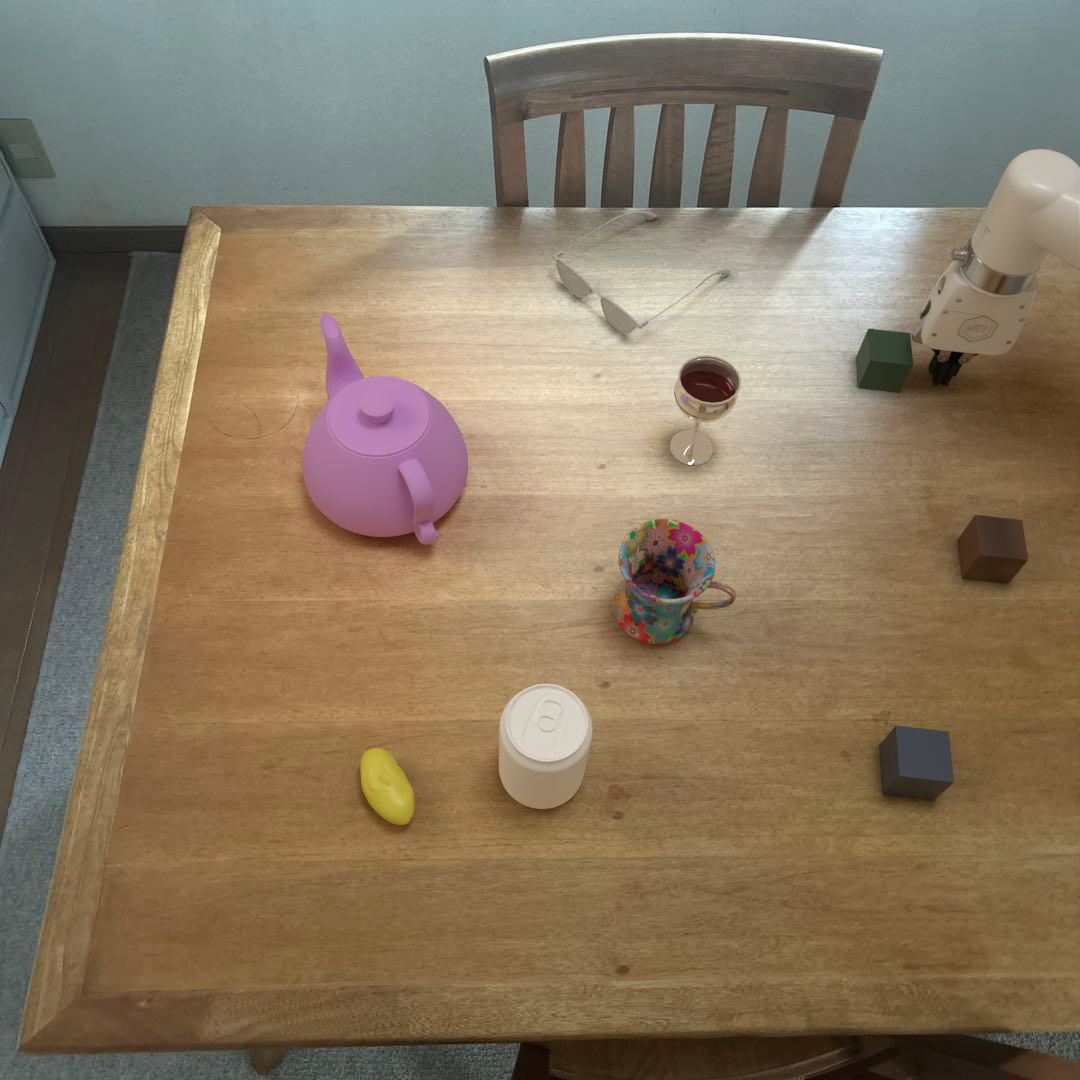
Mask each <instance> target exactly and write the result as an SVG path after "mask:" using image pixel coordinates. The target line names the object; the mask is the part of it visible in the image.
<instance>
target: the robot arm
mask: <svg viewBox="0 0 1080 1080" xmlns="http://www.w3.org/2000/svg"><path fill="white" fill-rule="evenodd" d="M1049 254H1051V255H1053V256H1054V257H1056V258H1058V259H1059V260H1061V261H1063V262H1065V263H1066V264H1067V265H1069V266H1071V267H1073V268H1074V269H1076V270H1077V271H1080V166H1079V164H1078V163H1077V162H1076V161H1074V160H1073V159H1072V158H1070V157H1069V156H1067V155H1066V154H1064V153H1061V152H1059V151H1055V150H1053V149H1046V148H1045V149H1043V148H1038V149H1035V148H1034V149H1029V150H1027V151H1026V150H1025V151H1024V152H1022V153H1019V154H1017V156H1015V157H1014V158H1013V159H1012V160H1011V161H1010V162H1009V164H1008V165H1007V166H1006V169H1005V170H1004V172H1003V173H1002V176H1001V178H1000V180H999V182H998V184H997V185H996V188H995V190H994V192H993V195H992V196H991V197H990V200H989V203H988V205H987V206H986V208H985V210H984V212H983V214H982V216H981V219H980V220H979V222H978V223H977V227H976V228H975V230H974V232H973V235H972V237H971V238H968V241H967V242H966V245H965V246H963V247H959V248H955V247H954V248H952V250H951V252H950V255H949V256H950V257H949V259H950V261H951V263H950V264H949V265H948V267H947V268H946V269H945V270H944V272H943V273H942V274H941V275H940V277H939V278H938V279H937V281H936V283H935V285H934V286H933V288H932V290H931V291H930V293H929V294H928V297H927V298H926V300H925V301H924V303H923V305H922V308H921V310H920V312H919V321H918V323H916V325H915V326H914V327H913V329H912V330H911V341H912V342H914V343H917V344H919V345H923V346H925V347H927V348H928V349H929V348H930V349H931V350H932V352H933V353H934V354H933V355H932V358H931V360H930V361H929V364H928V374H929V375H931V377H932V378H931V379H932V385H934V386H940V385H942V386H943V387H948V386H949V384H950V383H951V382H952V379H953V377H956V376H957V375H958V373H959V371H960V370H961V368H962V366H963V365H966V364H969V363H970V361H971V360H972V359H973V358H974V357H976V356H980V355H987V356H1000V355H1005V354H1007V353H1009V351H1010V350H1011V349H1012V348H1013V347H1014V346H1015V343H1016V342H1017V340H1018V338H1019V336H1020V334H1021V332H1022V330H1023V328H1024V326H1025V323H1026V322H1027V319H1028V317H1029V313H1030V312H1031V309H1032V307H1033V303H1034V301H1035V298H1036V295H1037V291H1038V287H1039V281H1038V278H1037V274H1038V273H1039V271H1040V269H1041V267H1042V266H1043V264H1044V262H1045V261H1046V259H1047V257H1048V255H1049Z"/></svg>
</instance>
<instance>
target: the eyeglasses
mask: <svg viewBox="0 0 1080 1080" xmlns="http://www.w3.org/2000/svg"><path fill="white" fill-rule="evenodd" d="M630 215H642V216H644V217H645V219H646V220H648V221H653V220H655V219H657V218H658V215H657V214H656V213H653V212H652V211H644V210H643V211H642V210H641V211H640V210H639V211H637V210H636V211H630V212H626V213H623V214H619V215H618V216H616V217H614V218H612V219H610V220H609V221H608V222H606V223H604V224H602V225H601V226H599V227H597V228H595V229H594V230H592V231H591V232H589V233H588V234H586V235H585V236H583V237H581V238H579V239H578V240H577V241H575V242H574V243H573V244H571V245H570V246H568V247H567V248H565V249H564V250H559V251H558V252H557V253H555V254H553V255H552V259H553V260H554V261H555V263H556V264H555V265H556V268H557V272H558V275H559V278H560V280H561V283H562V284H563V285H564V287H565V288H566V289H567V290H568V291H569V292H570V293H572V295H574V296H575V297H577V298H579V299H584V298H585V297H587V296H588V295H589V294H592V292H593V293H594V294H596V295H597V296H598V297H600V305H601V309H602V312H603V316H604V318H605V320H606V321H607V322H608V324H610V325H611V327H613V328H614V329H615V330H616V331H618V332H619V333H621V334H622V335H626V336H627V335H630V334H631V333H632V332H634V331H635V329H636V328H637V329H638V330H641V329H642V328H644V327H645V326H647V325H649V322H651V320H653V319H656V317H658V316H659V315H661V314H663V313H664V312H666V311H667V310H669V309H670V308H671V307H673V306H675V305H676V304H677V303H679V302H680V301H682V300H683V299H685V298H686V297H687V296H689V295H690V294H692V293H693V292H694V291H695V290H698V288H699V287H701V286H702V285H703V284H704V283H705V282H706V281H708V280H709V279H711V278H712V277H714V276H716V275H721V276H722V277H723V278H726V277H727V276H729V275H730V274H731V269H729V268H724V269H720V270H717V271H715V272H713V273H711V274H710V275H708V276H707V277H706V278H704V279H703V280H702V281H701V282H700V283H698V284H697V285H696V286H695V287H694V288H693V289H692V290H690V291H689V292H688V293H686V294H685V295H684V296H683V297H681V298H680V299H678V300H677V301H676V302H674V303H673V304H671V305H669V306H668V307H667V308H665V309H664V310H662V311H660V312H659V313H657V314H656V315H655V316H653V317H651V318H650V319H646V320H644V321H643V322H641V323H640V322H638V321H636V320H635V318H634V317H633V316H632V315H631V314H629V312H627V310H625V309H624V308H623V307H621V306H620V305H619V304H617V303H616V302H615V301H613V300H612V299H611V298H609V297H607V296H605V295H602V294H601V292H600V291H599V290H598V289H596V288H594V287H593V286H591V285H590V284H589V282H588V281H587V279H586V278H585V277H584V276H583V275H581V274H580V273H579V272H578V271H577V270H576V269H574V268H573V267H572V266H571V265H570V264H569V263H567V262H566V261H565V260H563V259H561V258H560V257H561V256H563V254H564V253H565V252H566V251H568V250H569V249H570V248H571V247H573V246H575V245H576V244H577V243H579V242H580V241H582V240H583V239H585V238H586V237H589V235H591V234H592V233H594V232H596V231H597V230H599V229H601V228H602V227H604V226H606V225H608V224H609V223H612V222H614V221H616V220H618V219H620V218H623V217H626V216H630Z"/></svg>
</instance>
